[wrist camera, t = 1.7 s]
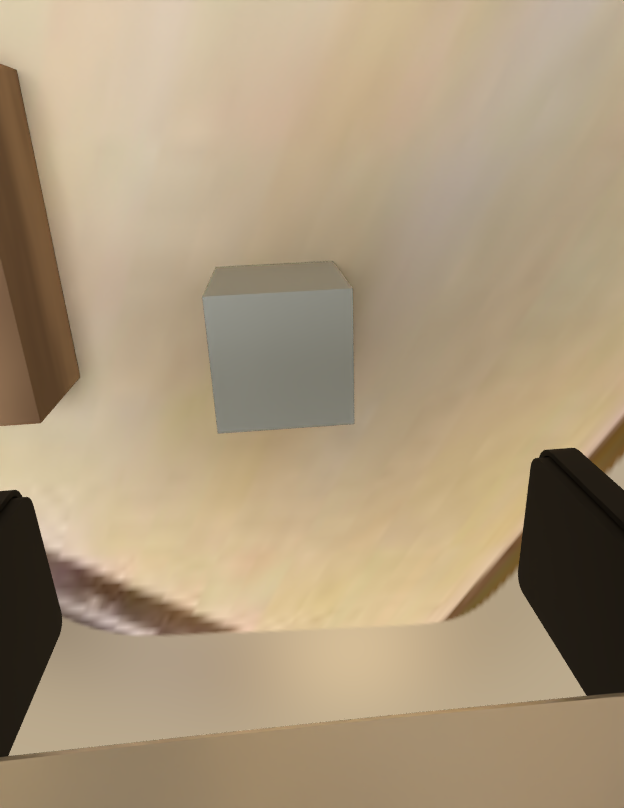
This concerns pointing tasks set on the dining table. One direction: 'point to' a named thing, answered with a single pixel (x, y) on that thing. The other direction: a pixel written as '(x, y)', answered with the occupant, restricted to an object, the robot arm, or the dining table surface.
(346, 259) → the dining table surface
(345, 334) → the block
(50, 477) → the dining table surface
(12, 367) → the base
